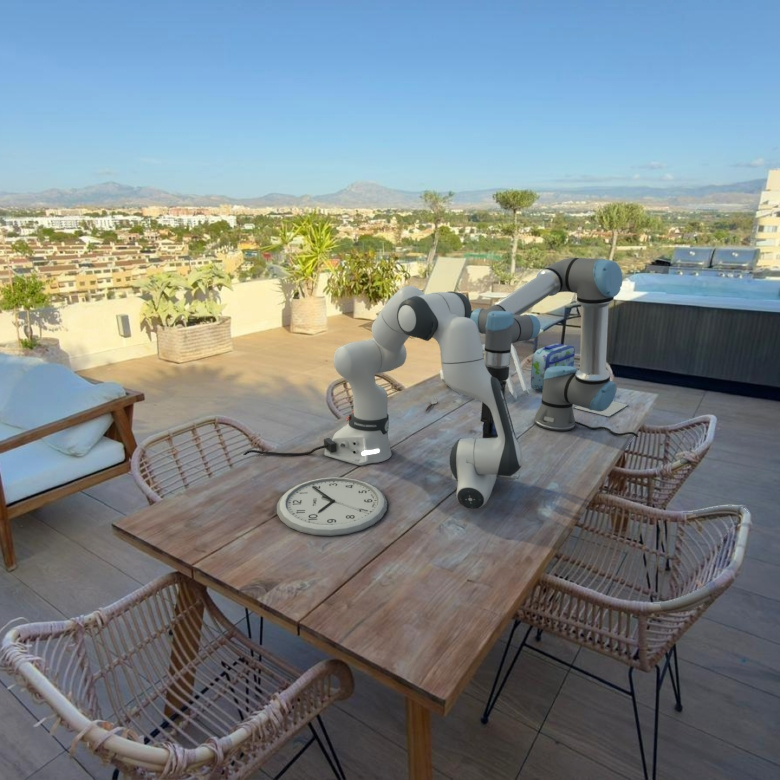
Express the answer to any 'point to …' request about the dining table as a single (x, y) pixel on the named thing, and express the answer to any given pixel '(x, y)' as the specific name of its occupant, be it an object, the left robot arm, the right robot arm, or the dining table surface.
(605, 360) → the right robot arm
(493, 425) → the lid
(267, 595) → the dining table surface
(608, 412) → the invitation card
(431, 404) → the fork
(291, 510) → the wall clock
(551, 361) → the lunch box
